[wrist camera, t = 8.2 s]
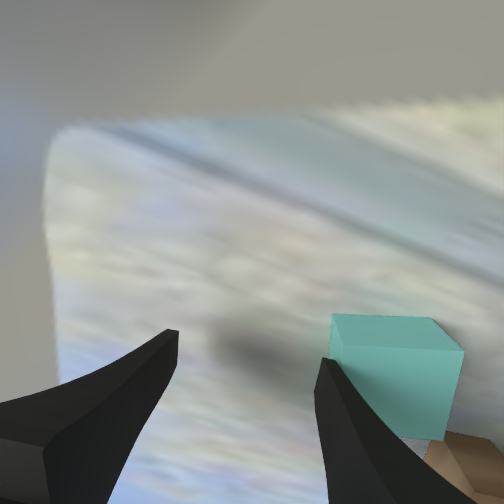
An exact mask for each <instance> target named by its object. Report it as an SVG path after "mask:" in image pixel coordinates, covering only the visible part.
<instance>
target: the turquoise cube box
mask: <svg viewBox="0 0 504 504" xmlns="http://www.w3.org/2000/svg"><path fill="white" fill-rule="evenodd" d="M464 354H465V351H464V350H463V349H462V348H461V347H460V346H459V345H458V344H457V343H456V342H455V341H454V340H453V339H452V338H450V337H449V336H448V335H447V334H446V333H445V332H444V331H443V330H442V329H441V328H440V327H439V326H438V325H437V324H436V323H435V322H434V321H433V320H432V319H431V318H428V317H404V316H379V315H354V314H332V320H331V333H330V346H329V359H334V360H336V361H337V363H338V364H339V366H340V367H341V368H342V370H343V371H344V373H345V374H346V376H347V377H348V378H349V380H350V381H351V383H352V384H353V385H354V387H355V388H356V389H357V391H358V392H359V393H360V395H361V396H362V397H363V398H364V400H365V401H366V402H367V403H368V405H369V406H370V407H371V408H372V409H373V411H374V412H375V413H376V414H377V415H378V416H379V418H380V419H381V420H382V421H383V422H384V423H385V424H386V425H387V426H388V427H389V428H390V429H391V430H392V431H393V432H394V433H395V435H396V436H397V437H406V438H417V439H428V440H439V441H443V439H444V435H445V431H446V427H447V423H448V419H449V415H450V411H451V407H452V403H453V399H454V395H455V391H456V387H457V383H458V378H459V374H460V370H461V366H462V362H463V358H464Z"/></svg>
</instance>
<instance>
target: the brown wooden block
mask: <svg viewBox="0 0 504 504" xmlns="http://www.w3.org/2000/svg"><path fill="white" fill-rule="evenodd" d="M423 461H424V462H426V463H427V464H428V465H429V466H430V467H431V468H433V469H434V470H435V471H436V472H437V473H439V474H440V475H441V476H442V477H444V478H445V479H446V480H447V481H448V482H450V483H451V484H452V485H454V486H455V487H456V488H458V489H459V490H460V491H462V492H463V493H464V494H466V495H467V496H468V497H470V498H471V499H472V500H474V501H475V502H476V503H478V504H504V458H503V456H502V455H501V454H500V453H499V451H498V450H497V449H496V447H495V446H494V445H493V444H492V442H491V441H490V440H488V439H483V438H478V437H473V436H468V435H463V434H458V433H453V432H448V431H445V435H444V439H443V441H439V440H432V441H431V443H430V446H429V448H428V450H427V452H426V454H425V457H424V459H423Z"/></svg>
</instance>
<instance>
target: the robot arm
mask: <svg viewBox="0 0 504 504" xmlns="http://www.w3.org/2000/svg"><path fill="white" fill-rule="evenodd" d="M178 338H179V331H176V330H171V329H166V330H165V331H163V332H161V333H160V334H158V335H157V336H155V337H154V338H152V339H151V340H149V341H148V342H146V343H145V344H143V345H142V346H140V347H138V348H137V349H135V350H134V351H132V352H130V353H128V354H127V355H125V356H123V357H121V358H120V359H118V360H116V361H114V362H112V363H111V364H109V365H107V366H105V367H103V368H100V369H98V370H96V371H94V372H92V373H90V374H87V375H85V376H82V377H80V378H77V379H75V380H73V381H70V382H68V383H65V384H62V385H59V386H57V387H54V388H51V389H48V390H45V391H42V392H38V393H35V394H32V395H29V396H24V397H21V398H17V399H13V400H10V401H6V402H2V403H0V504H107V502H108V500H109V498H110V496H111V493H112V491H113V489H114V486H115V484H116V482H117V480H118V478H119V476H120V473H121V471H122V469H123V467H124V465H125V463H126V460H127V458H128V456H129V454H130V452H131V450H132V448H133V446H134V444H135V442H136V439H137V437H138V436H139V434H140V432H141V430H142V428H143V426H144V425H145V423H146V421H147V420H148V418H149V416H150V415H151V413H152V411H153V410H154V408H155V406H156V405H157V403H158V401H159V399H160V398H161V396H162V394H163V393H164V391H165V389H166V387H167V386H168V384H169V382H170V380H171V377H172V375H173V373H174V371H175V368H176V366H177V357H178ZM314 398H315V413H316V419H317V425H318V431H319V436H320V442H321V448H322V453H323V459H324V464H325V471H326V478H327V488H328V499H329V504H478V503H476V502H475V501H474V500H472V499H471V498H470V497H468V496H467V495H466V494H464V493H463V492H462V491H460V490H459V489H458V488H456V487H455V486H454V485H452V484H451V483H450V482H448V481H447V480H446V479H445V478H444V477H442V476H441V475H440V474H439V473H437V472H436V471H435V470H434V469H433V468H431V467H430V466H429V465H428V464H427V463H426V462H424V461H423V460H422V459H421V458H420V457H419V456H418V455H417V454H415V453H414V452H413V451H412V450H411V449H410V448H409V447H408V446H407V445H406V444H405V443H404V442H403V441H402V440H401V439H399V438H398V437H397V436H396V435H395V433H394V432H393V431H392V430H391V429H390V428H389V427H388V426H387V425H386V424H385V423H384V422H383V421H382V420H381V419H380V418H379V416H378V415H377V414H376V413H375V412H374V411H373V409H372V408H371V407H370V406H369V405H368V403H367V402H366V401H365V400H364V398H363V397H362V396H361V395H360V393H359V392H358V391H357V389H356V388H355V387H354V385H353V384H352V383H351V381H350V380H349V378H348V377H347V376H346V374H345V373H344V371H343V370H342V368H341V367H340V366H339V364H338V363H337V361H336V360H334V359H328V358H322V362H321V366H320V370H319V374H318V378H317V382H316V386H315V390H314Z"/></svg>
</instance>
